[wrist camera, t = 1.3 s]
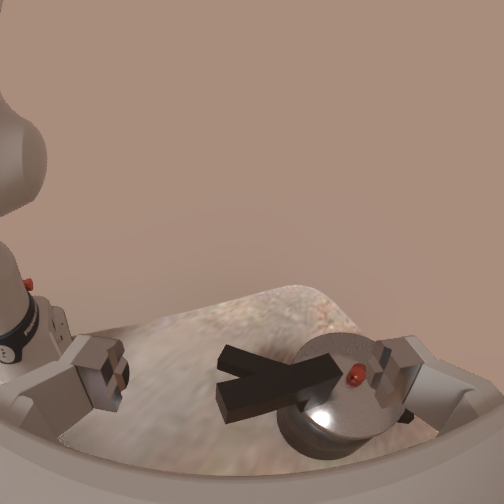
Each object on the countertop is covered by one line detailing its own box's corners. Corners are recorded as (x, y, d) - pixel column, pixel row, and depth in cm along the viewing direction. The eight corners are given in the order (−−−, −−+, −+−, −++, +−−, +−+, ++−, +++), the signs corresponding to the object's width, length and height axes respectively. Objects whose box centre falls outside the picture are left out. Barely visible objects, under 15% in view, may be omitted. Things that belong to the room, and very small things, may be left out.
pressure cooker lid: (362, 325, 42) (380, 289, 38) (424, 403, 29) (456, 370, 25) (197, 368, 32) (197, 327, 28) (246, 495, 19) (259, 483, 15)
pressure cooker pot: (387, 390, 42) (414, 357, 37) (381, 468, 29) (418, 445, 24) (236, 349, 48) (242, 309, 43) (198, 422, 35) (196, 391, 30)
